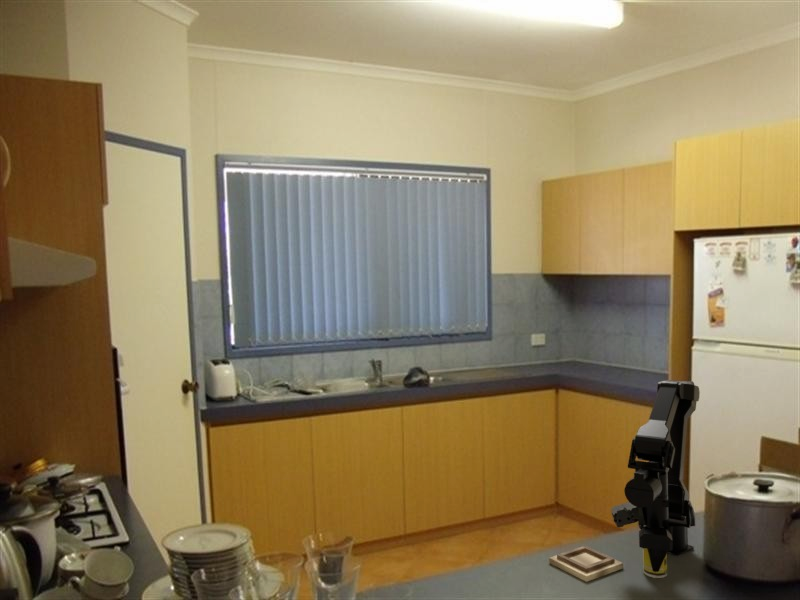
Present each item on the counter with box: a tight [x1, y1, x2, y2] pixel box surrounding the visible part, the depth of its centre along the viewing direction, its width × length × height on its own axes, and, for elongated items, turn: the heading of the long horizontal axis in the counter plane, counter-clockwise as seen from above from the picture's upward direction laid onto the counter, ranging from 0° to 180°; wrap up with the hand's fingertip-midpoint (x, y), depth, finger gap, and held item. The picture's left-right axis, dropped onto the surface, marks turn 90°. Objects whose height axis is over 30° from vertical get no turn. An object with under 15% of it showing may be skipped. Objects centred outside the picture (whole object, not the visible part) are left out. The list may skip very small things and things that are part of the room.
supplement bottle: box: [642, 548, 668, 579], centre depth 138 cm, size 5×5×8 cm
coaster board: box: [548, 545, 624, 583], centre depth 143 cm, size 11×11×2 cm
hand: (655, 566), depth 138 cm, fingers closed on supplement bottle, 5 cm apart
